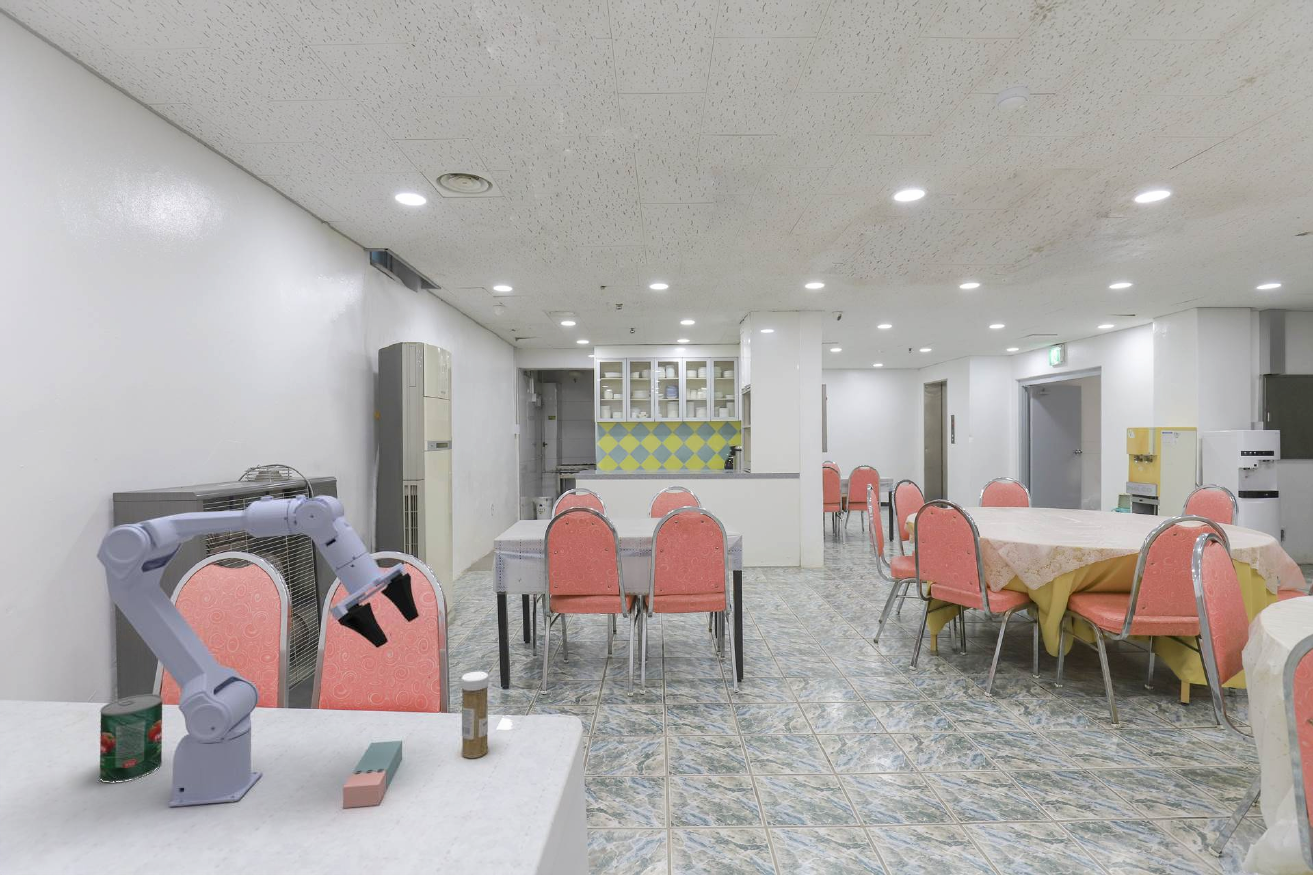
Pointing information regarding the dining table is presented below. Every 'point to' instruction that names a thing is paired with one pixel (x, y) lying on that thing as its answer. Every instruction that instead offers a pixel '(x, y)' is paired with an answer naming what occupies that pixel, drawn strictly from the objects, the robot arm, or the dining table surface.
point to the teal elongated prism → (381, 759)
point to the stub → (364, 789)
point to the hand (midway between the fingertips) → (398, 631)
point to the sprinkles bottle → (474, 714)
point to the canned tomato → (130, 737)
